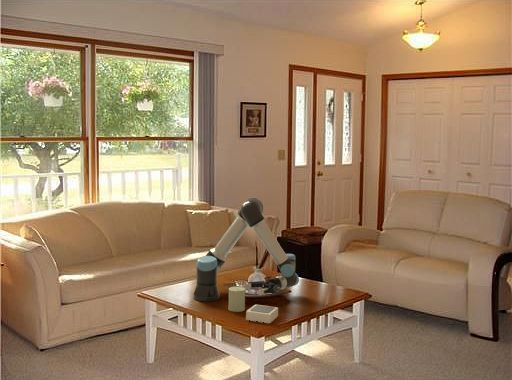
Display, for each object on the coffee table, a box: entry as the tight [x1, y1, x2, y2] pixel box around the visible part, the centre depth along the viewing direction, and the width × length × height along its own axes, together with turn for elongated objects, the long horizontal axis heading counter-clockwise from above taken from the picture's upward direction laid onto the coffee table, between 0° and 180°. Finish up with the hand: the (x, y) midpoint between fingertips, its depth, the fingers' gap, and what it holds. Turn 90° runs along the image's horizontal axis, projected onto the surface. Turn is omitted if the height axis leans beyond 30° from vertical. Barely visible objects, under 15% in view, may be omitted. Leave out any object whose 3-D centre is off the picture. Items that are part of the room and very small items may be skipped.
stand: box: [245, 304, 279, 324], centre depth 328 cm, size 13×13×5 cm
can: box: [227, 286, 246, 313], centre depth 341 cm, size 9×9×12 cm
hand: (250, 290), depth 347 cm, fingers open, 13 cm apart
